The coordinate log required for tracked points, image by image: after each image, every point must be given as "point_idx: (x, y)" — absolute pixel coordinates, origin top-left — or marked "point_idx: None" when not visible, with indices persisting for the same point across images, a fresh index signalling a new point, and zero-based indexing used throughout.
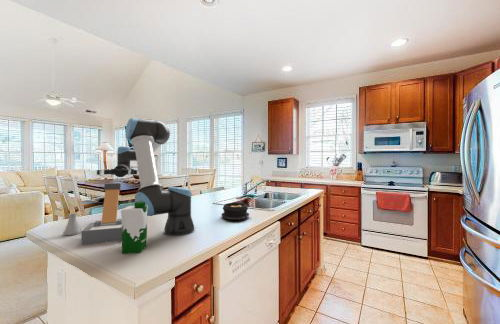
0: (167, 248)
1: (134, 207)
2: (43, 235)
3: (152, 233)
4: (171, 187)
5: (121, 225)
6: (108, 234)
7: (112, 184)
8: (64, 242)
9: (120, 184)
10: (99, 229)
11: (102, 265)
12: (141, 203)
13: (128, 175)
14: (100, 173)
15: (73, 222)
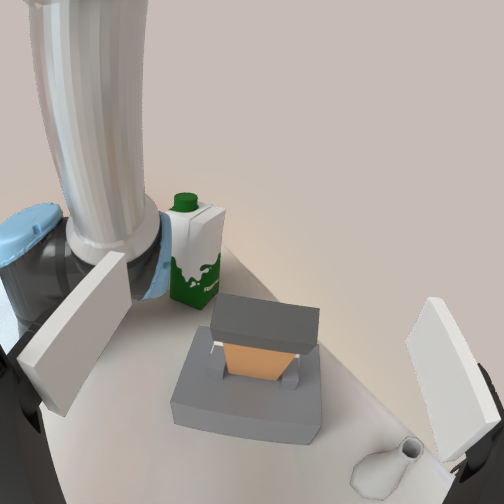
0: None
1: (197, 207)
2: (446, 475)
3: (124, 364)
4: (54, 209)
5: (213, 346)
6: None
7: (268, 303)
8: (359, 401)
9: (215, 304)
10: None
11: (247, 271)
12: (185, 193)
13: (129, 302)
14: (421, 321)
15: (388, 453)
